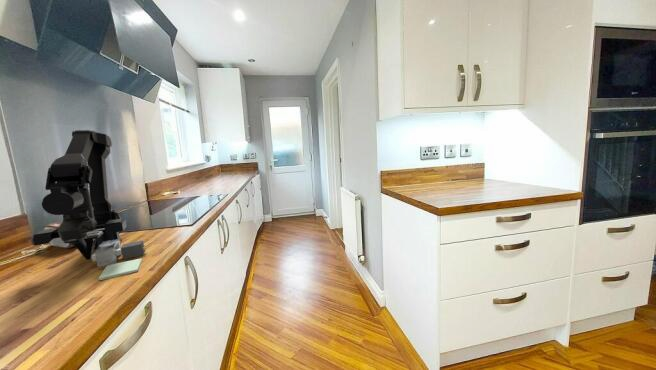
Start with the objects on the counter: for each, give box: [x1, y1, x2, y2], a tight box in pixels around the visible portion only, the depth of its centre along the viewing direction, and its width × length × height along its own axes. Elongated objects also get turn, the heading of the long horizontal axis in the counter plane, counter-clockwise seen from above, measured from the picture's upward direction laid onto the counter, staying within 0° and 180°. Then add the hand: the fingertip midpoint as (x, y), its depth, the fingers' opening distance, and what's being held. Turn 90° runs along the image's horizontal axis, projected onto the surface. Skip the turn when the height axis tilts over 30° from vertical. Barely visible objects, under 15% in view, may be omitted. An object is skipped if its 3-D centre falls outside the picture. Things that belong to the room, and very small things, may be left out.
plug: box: [91, 240, 148, 262], centre depth 76 cm, size 13×4×4 cm, turn 119°
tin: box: [42, 221, 75, 249], centre depth 88 cm, size 15×3×8 cm, turn 71°
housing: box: [94, 239, 122, 268], centre depth 75 cm, size 4×8×5 cm, turn 29°
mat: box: [98, 257, 143, 281], centre depth 69 cm, size 8×8×1 cm
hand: (89, 259), depth 73 cm, fingers closed
